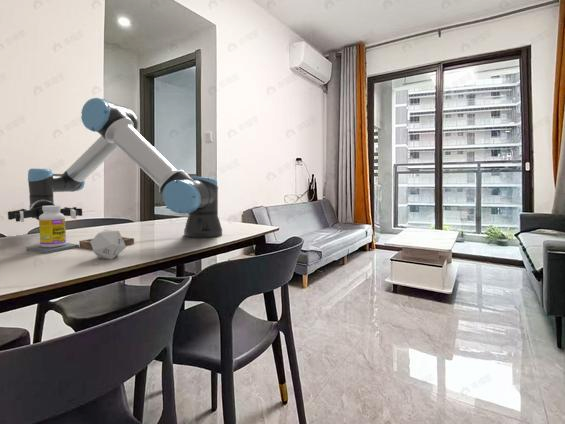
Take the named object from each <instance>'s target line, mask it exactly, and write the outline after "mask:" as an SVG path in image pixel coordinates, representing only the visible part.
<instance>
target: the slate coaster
mask: <svg viewBox="0 0 565 424" xmlns="http://www.w3.org/2000/svg"><path fill="white" fill-rule="evenodd" d="M76 248H80V244H78V243H77V244H76V243H71V242H66V244H65V245H64V246H60V247H53V248H45V247H41V244H40V245H34V246H33V245H32V246H27V247H26V251H29V252H36V253H41V254H50V253H54V252H61V251H66V250H71V249H76Z"/></svg>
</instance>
